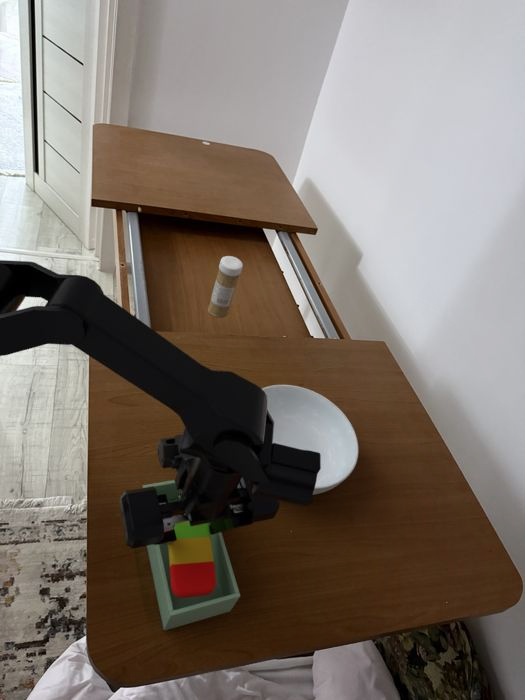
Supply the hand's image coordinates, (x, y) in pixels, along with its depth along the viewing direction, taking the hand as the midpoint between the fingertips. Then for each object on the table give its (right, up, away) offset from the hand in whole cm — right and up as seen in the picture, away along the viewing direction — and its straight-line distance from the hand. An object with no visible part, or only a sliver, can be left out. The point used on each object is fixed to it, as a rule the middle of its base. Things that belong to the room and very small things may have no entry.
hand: (189, 535), depth 66 cm
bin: (-2, -4, +4) cm, 6 cm away
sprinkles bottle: (0, +33, +43) cm, 54 cm away
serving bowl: (+14, +6, +21) cm, 26 cm away
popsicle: (0, -1, +1) cm, 1 cm away
